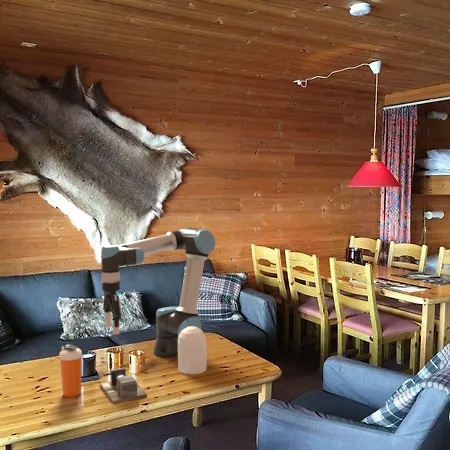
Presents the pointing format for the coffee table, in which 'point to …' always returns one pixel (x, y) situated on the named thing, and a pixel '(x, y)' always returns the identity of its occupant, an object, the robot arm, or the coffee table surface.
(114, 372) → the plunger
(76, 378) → the shaker bottle
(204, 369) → the container
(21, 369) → the coffee table surface
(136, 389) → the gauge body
